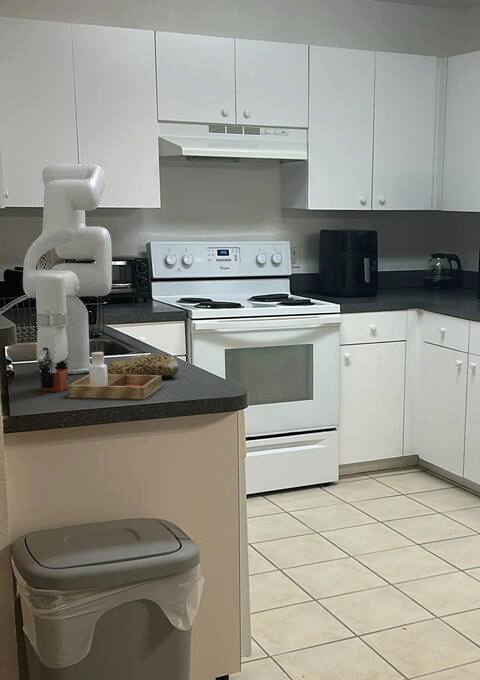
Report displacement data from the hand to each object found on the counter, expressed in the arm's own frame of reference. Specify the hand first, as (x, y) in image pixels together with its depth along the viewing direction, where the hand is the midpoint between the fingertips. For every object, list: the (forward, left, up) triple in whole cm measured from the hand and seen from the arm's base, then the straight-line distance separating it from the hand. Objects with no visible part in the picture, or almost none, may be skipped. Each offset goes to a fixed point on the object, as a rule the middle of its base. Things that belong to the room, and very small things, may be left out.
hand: (54, 384), depth 239 cm
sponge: (+19, +16, -2) cm, 25 cm away
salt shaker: (+12, -1, -1) cm, 12 cm away
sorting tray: (+17, -1, -1) cm, 17 cm away
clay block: (0, 0, -1) cm, 1 cm away
